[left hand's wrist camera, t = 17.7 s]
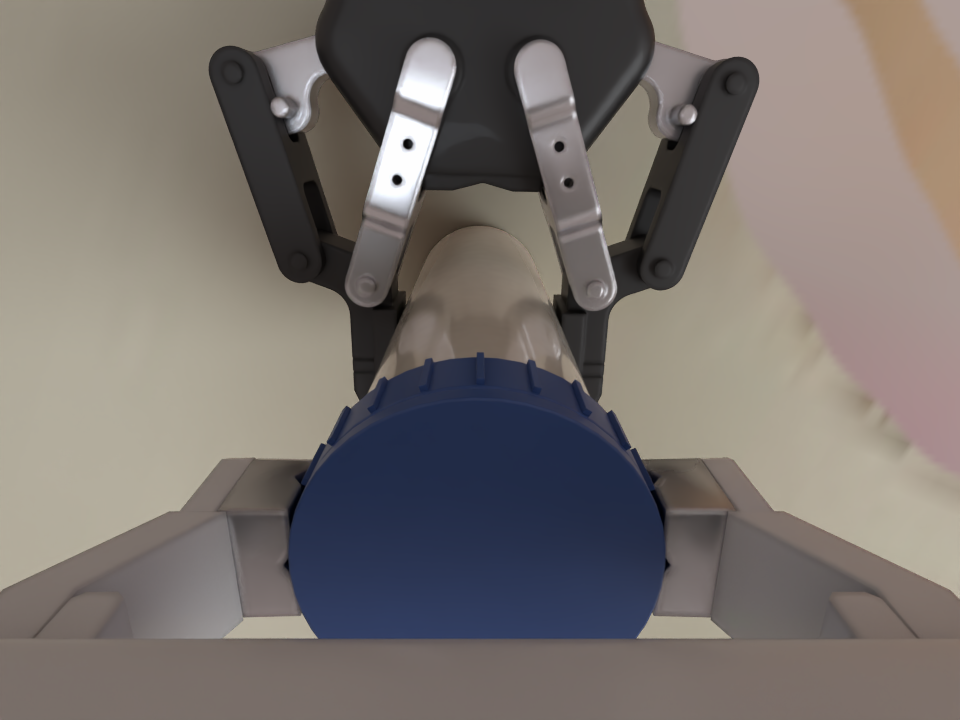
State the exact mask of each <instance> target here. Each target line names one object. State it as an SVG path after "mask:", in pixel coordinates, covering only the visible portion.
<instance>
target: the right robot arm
mask: <svg viewBox="0 0 960 720" xmlns="http://www.w3.org/2000/svg"><path fill="white" fill-rule="evenodd" d="M209 76H210V79H211V82H212V85H213V88H214V90H215V93H216V96H217V99H218V101H219V104H220V107H221V110H222V112H223V115H224V118H225V121H226V124H227V126H228V129H229V132H230V135H231V137H232V140H233V143H234V146H235V148H236V151H237V154H238V157H239V159H240V162H241V165H242V168H243V170H244V173H245V176H246V179H247V182H248V184H249V187H250V190H251V193H252V195H253V198H254V201H255V204H256V206H257V209H258V212H259V215H260V217H261V220H262V223H263V226H264V228H265V231H266V234H267V237H268V240H269V242H270V245H271V248H272V251H273V253H274V256H275V259H276V262H277V264H278V267H279V269H280V271H281V272H282V274H283V275H284V276H285V277H286V278H288V279H289V280H291V281H293V282H297V283H306V282H312V283H315V284H318V285H320V286H323V287H326V288H329V289H331V290H333V291H335V292H337V293H338V294H339V295H341V296H342V297H343V299H344V300H345V301H346V303H347V305H348V307H349V310H350V319H351V337H352V356H353V370H354V373H353V374H354V390H355V392H356V394H357V396H358V398H359V400H361V399H362V398H363V397H364V396H365V395H367V393H368V391H369V389H370V386H371V384H372V382H373V380H374V377H375V375H376V373H377V370H378V368H379V366H380V364H381V361H382V359H383V357H384V354H385V352H386V350H387V348H388V345H389V343H390V341H391V338H392V336H393V334H394V332H395V329H396V327H397V325H398V322H399V320H400V318H401V316H402V313H403V311H404V309H405V306H406V292H405V291H398V275H399V272H400V269H401V266H402V263H403V260H404V256H405V253H406V250H407V247H408V244H409V241H410V238H411V235H412V231H413V228H414V225H415V223H416V220H417V217H418V215H419V212H420V209H421V206H422V203H423V200H424V197H425V194H426V191H427V190H456V189H460V188H464V187H468V186H472V185H475V184H479V183H486V184H489V185H493V186H496V187H499V188H503V189H506V190H510V191H515V192H538V194H539V198H540V201H541V205H542V208H543V212H544V215H545V218H546V221H547V223H548V226H549V230H550V233H551V237H552V240H553V244H554V247H555V251H556V254H557V258H558V261H559V265H560V269H561V272H562V291H561V295H554V299H553V308H554V311H555V313H556V316H557V318H558V320H559V323H560V325H561V328H562V330H563V332H564V335H565V337H566V340H567V342H568V344H569V347H570V349H571V352H572V354H573V356H574V359H575V361H576V364H577V366H578V368H579V371H580V373H581V376H582V378H583V380H584V383H585V385H586V388H587V390H588V392H589V395H590V397H591V398H592V399H594V400H595V401H596V402H598V400H599V398H600V397H601V395H602V384H603V373H604V362H605V351H606V340H607V329H608V319H609V314H610V312H611V310H612V308H613V306H614V305H615V304H616V303H617V302H618V301H619V300H620V299H622V298H623V297H625V296H627V295H630V294H633V293H636V292H639V291H642V290H645V289H648V288H652V289H655V290H666V289H669V288H671V287H673V286H675V285H676V284H677V283H678V282H679V281H680V280H681V278H682V276H683V274H684V272H685V269H686V267H687V264H688V262H689V259H690V257H691V254H692V252H693V249H694V247H695V244H696V242H697V239H698V237H699V234H700V232H701V229H702V227H703V224H704V222H705V219H706V217H707V214H708V212H709V209H710V207H711V204H712V202H713V199H714V197H715V194H716V192H717V189H718V187H719V184H720V182H721V180H722V177H723V175H724V172H725V170H726V167H727V165H728V162H729V160H730V157H731V155H732V152H733V150H734V147H735V145H736V142H737V140H738V137H739V135H740V132H741V130H742V127H743V125H744V122H745V120H746V117H747V115H748V112H749V110H750V107H751V105H752V102H753V100H754V97H755V95H756V92H757V90H758V86H759V74H758V71H757V68H756V66H755V65H754V64H753V63H752V62H751V61H750V60H748V59H746V58H743V57H732V58H729V59H722V60H718V61H714V60H711V59H708V58H704V57H701V56H698V55H695V54H692V53H689V52H686V51H683V50H680V49H677V48H674V47H671V46H668V45H665V44H661V43H658V42H655V34H654V29H653V25H652V22H651V20H650V18H649V15H648V13H647V10H646V8H645V4H644V1H643V0H326V3H325V5H324V8H323V10H322V12H321V14H320V16H319V19H318V22H317V26H316V32H315V35H314V36H310V37H307V38H303V39H300V40H296V41H292V42H289V43H285V44H282V45H278V46H275V47H271V48H268V49H264V50H261V51H257V52H250V51H247V50H245V49H242V48H239V47H236V46H225V47H222V48H220V49H218V50H217V51H216V52H215V53H214V54H213V56H212V57H211V60H210V63H209ZM329 78H330V79H331V80H332V81H333V83H334V84H335V86H336V87H337V88H338V90H339V91H340V93H341V94H342V95H343V97H344V98H345V100H346V101H347V102H348V104H349V105H350V107H351V108H352V109H353V111H354V112H355V114H356V115H357V116H358V118H359V119H360V121H361V122H362V123H363V125H364V126H365V128H366V129H367V130H368V132H369V133H370V135H371V136H372V137H373V139H374V140H375V142H376V143H377V144H378V146H379V147H380V152H379V156H378V159H377V163H376V166H375V169H374V173H373V176H372V180H371V183H370V187H369V190H368V194H367V197H366V200H365V204H364V208H363V214H362V223H361V227H360V231H359V234H358V237H357V241H356V242H353V241H351V240H348V239H345V238H343V237H340V236H338V235H337V232H336V229H335V226H334V223H333V220H332V216H331V213H330V210H329V207H328V204H327V201H326V198H325V195H324V192H323V189H322V186H321V182H320V179H319V176H318V173H317V170H316V167H315V164H314V161H313V158H312V155H311V152H310V148H309V145H308V142H307V139H306V136H305V132H308V131H310V130H311V129H312V128H313V127H314V126H315V125H316V123H317V121H318V118H319V105H318V93H319V90H320V88H321V86H322V85H323V83H324V82H325V81H326V80H328V79H329ZM638 84H639V85H641V86H642V87H643V88H644V89H645V90H646V92H647V94H648V96H649V100H650V109H649V114H648V124H649V127H650V130H651V131H652V133H653V134H654V135H655V136H657V137H658V138H660V139H662V140H661V143H660V146H659V148H658V151H657V154H656V157H655V159H654V162H653V165H652V168H651V170H650V173H649V176H648V179H647V182H646V184H645V187H644V190H643V193H642V195H641V198H640V201H639V204H638V206H637V209H636V212H635V215H634V217H633V220H632V223H631V226H630V228H629V231H628V234H627V237H626V239H625V241H622V242H619V243H616V244H613V245H611V246H608V247H607V244H606V240H605V236H604V232H603V227H602V214H601V209H600V204H599V200H598V196H597V192H596V188H595V184H594V180H593V176H592V173H591V169H590V165H589V161H588V157H587V153H586V152H587V150H588V149H589V148H590V147H591V145H592V144H593V143H594V141H595V140H596V139H597V137H598V136H599V135H600V134H601V132H602V131H603V130H604V128H605V127H606V126H607V124H608V123H609V122H610V121H611V119H612V118H613V117H614V115H615V114H616V113H617V111H618V110H619V109H620V108H621V106H622V105H623V104H624V102H625V101H626V100H627V98H628V97H629V96H630V95H631V93H632V92H633V91H634V89H635V88H636V87H637V85H638Z"/></svg>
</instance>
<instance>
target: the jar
mask: <svg viewBox="0 0 960 720" xmlns="http://www.w3.org/2000/svg"><path fill="white" fill-rule="evenodd" d="M477 352H484V358H500V359H506V360H511V361H517V362H522V363H525V364H527V362H528V360H529V359H530V360H533V361H535V362H536V366H537V367H538V368H542V369H544V370H546V371H548V372H551V373H553V374H555V375H557V376H560V377H562V378H564V379H565V380H567V381H568V382H570V383H572V382H573V381H574V380H577V381H579V382H580V383H581V385H582V388H583V390H584V392H585V393H586V394H587V395H589V392H588V390H587V388H586V385H585V383H584V380H583V378H582V376H581V373H580V371H579V368H578V366H577V364H576V361H575V359H574V356H573V354H572V352H571V349H570V347H569V344H568V342H567V340H566V337H565V335H564V332H563V330H562V328H561V325H560V323H559V320H558V318H557V316H556V313H555V311H554V308H553V306H552V304H551V301H550V299H549V296H548V294H547V292H546V289H545V287H544V284H543V282H542V280H541V277H540V275H539V272H538V270H537V268H536V265H535V263H534V261H533V259H532V257H531V255H530V253H529V252H528V250H527V249H526V247H525V246H524V245H523V244H522V243H521V242H520V241H519V240H517V239H516V238H515V237H514V236H512V235H511V234H509V233H507V232H505V231H503V230H500V229H497V228H494V227H489V226H470V227H465V228H461V229H459V230H456V231H454V232H452V233H450V234H448V235H447V236H445V237H444V238H443V239H441V240H440V241H439V242H438V243H437V244H436V245H435V246H434V248H433V249H432V250H431V252H430V253H429V255H428V257H427V259H426V261H425V263H424V265H423V268H422V270H421V272H420V275H419V277H418V279H417V281H416V284H415V286H414V288H413V290H412V293H411V295H410V297H409V300H408V302H407V304H406V306H405V309H404V311H403V313H402V316H401V318H400V320H399V322H398V325H397V327H396V329H395V332H394V334H393V336H392V338H391V341H390V343H389V345H388V348H387V350H386V352H385V354H384V357H383V359H382V361H381V364H380V366H379V368H378V370H377V373H376V375H375V377H374V380H373V382H372V384H371V386H370V389H369V391H368V393H369V392H370V391H372V390H373V389H375V388H376V386H377V383H378V381H379V379H380V378H382V377H384V376H385V377H386V379H387V380H389V379H391V378H393V377H395V376H397V375H399V374H401V373H403V372H405V371H408V370H411V369H413V368H416V367H419V366H422V365H424V362H425V359H428V358H432V359H433V362H438V361H443V360H448V359H455V358H468V357H477ZM368 393H367V394H368ZM589 396H590V395H589Z"/></svg>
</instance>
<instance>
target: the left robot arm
mask: <svg viewBox="0 0 960 720" xmlns="http://www.w3.org/2000/svg"><path fill="white" fill-rule="evenodd" d="M312 460H313V459H261V458H258V459H256V458H228V459H222V460H221V461H220V462H219V463H218V464H217V466H216V467H215V468H214V469H213V471H212V472H211V473H210V474H209V476H208V477H207V478H206V479H205V481H204V482H203V483H202V484H201V485H200V487H199V488H198V489H197V490H196V492H195V493H194V494H193V495H192V497H191V498H190V499H189V500H188V502H187V503H186V504H185V505H184V507H183V508H182V509H181V510H180V511H174V512H168V513H165V514H163V515H161V516H159V517H157V518H155V519H153V520H150V521H148V522H146V523H144V524H142V525H140V526H138V527H135V528H133V529H131V530H129V531H127V532H125V533H123V534H121V535H118V536H116V537H114V538H112V539H110V540H108V541H106V542H103V543H101V544H99V545H97V546H95V547H93V548H91V549H88V550H86V551H84V552H82V553H80V554H78V555H76V556H73V557H71V558H69V559H67V560H65V561H63V562H61V563H59V564H56V565H54V566H52V567H50V568H48V569H46V570H44V571H41V572H39V573H37V574H35V575H33V576H31V577H29V578H26V579H24V580H22V581H20V582H18V583H16V584H14V585H12V586H9V587H7V588H5V589H3V590H2V591H1V592H0V720H960V599H959V598H958V597H957V596H956V595H955V594H954V593H952V592H951V591H950V590H949V589H947V588H944V587H942V586H940V585H938V584H936V583H934V582H932V581H930V580H928V579H925V578H923V577H921V576H919V575H917V574H915V573H913V572H911V571H909V570H906V569H904V568H902V567H900V566H898V565H896V564H894V563H892V562H890V561H888V560H885V559H883V558H881V557H879V556H877V555H875V554H873V553H871V552H869V551H866V550H864V549H862V548H860V547H858V546H856V545H854V544H852V543H850V542H847V541H845V540H843V539H841V538H839V537H837V536H835V535H833V534H831V533H828V532H826V531H824V530H822V529H820V528H818V527H816V526H814V525H812V524H809V523H807V522H805V521H803V520H801V519H799V518H797V517H795V516H793V515H790V514H788V513H786V512H780V511H773V509H772V508H771V507H770V506H769V504H768V503H767V502H766V501H765V499H764V498H763V497H762V495H761V494H760V493H759V492H758V490H757V489H756V488H755V487H754V485H753V484H752V483H751V482H750V480H749V479H748V478H747V477H746V475H745V474H744V473H743V472H742V470H741V469H740V468H739V466H738V465H737V464H736V463H735V461H734V460H732V459H730V458H708V459H700V458H692V459H650V460H642V462H643V464H644V466H645V468H646V470H647V472H648V474H649V476H650V478H651V480H652V482H653V484H654V487H655V490H652V491H650V492H651V494H652V496H653V498H654V500H655V503H656V505H657V508H658V511H659V514H660V518H661V521H662V524H663V530H664V537H665V545H666V554H665V571H664V576H663V582H662V587H661V590H660V593H659V596H658V599H657V602H656V605H655V608H654V610H653V611H652V612H653V615H654V616H681V617H711V620H712V621H713V622H714V623H715V624H716V625H717V626H718V627H720V628H721V629H722V630H723V631H724V632H725V633H726V634H728V635H729V636H730V637H731V638H732V639H222V638H223V637H224V636H226V635H227V634H228V633H229V632H230V631H231V630H233V629H234V628H235V627H236V626H237V625H238V624H239V623H241V622H242V621H243V617H272V616H301V613H302V612H301V609H300V607H299V604H298V602H297V599H296V597H295V594H294V590H293V586H292V582H291V577H290V573H289V559H288V546H289V535H290V528H291V524H292V520H293V516H294V513H295V509H296V507H297V505H298V502H299V500H300V498H301V495H302V493H303V491H304V489H305V487H306V486H305V485H302V484H301V482H302V480H303V477H304V475H305V474H306V472H307V470H308V468H309V466H310V464H311V462H312Z"/></svg>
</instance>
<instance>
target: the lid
mask: <svg viewBox="0 0 960 720" xmlns="http://www.w3.org/2000/svg"><path fill="white" fill-rule="evenodd" d="M630 448H631V446H630V443H629V441H628V439H627V437H626V435H625V433H624V431H623V429H622V427H621V425H620V423H619V421H618V419H617V417H616V415H615V413H614V412H613V411H612V410H611V411H610V412H608V413H607V412H606V411H605V410H604V409H603V408H602V407H601V406H600V405H599V404H598V403H597V402H596V401H595V400H594V399H592V398H591V397H590V396H589V395H587V394H586V393H585V392H584V390H583V388H582V385H581V383H580V382H579V381H577V380H574V381H573V382H572V383H570V382H568V381H567V380H565V379H564V378H562V377H560V376H557V375H555V374H553V373H551V372H548V371H546V370H544V369H542V368H538V367H537V366H536V362H535V361H533V360H530V359H529V360H528V362H527V364H525V363H522V362H517V361H511V360H506V359H500V358H484V352H477V357H468V358H455V359H448V360H443V361H438V362H433V359H432V358H428V359H425V362H424V365H422V366H419V367H416V368H413V369H411V370H408V371H405V372H403V373H401V374H399V375H397V376H395V377H393V378H391V379H389V380H387V379H386V377H385V376H384V377H382V378H380V379H379V381H378V383H377V386H376V388H375V389H373V390H372V391H370V392H369V393H368V394H367V395H365V396H364V397H363V398H362V399H361V400H360V401H359V402H358V403H356V404H355V405H354V406H353V407H352V408H351V409H350V408H349V407H348V406H346V407H345V408H344V409H343V410H342V412H341V414H340V416H339V418H338V420H337V422H336V424H335V426H334V428H333V430H332V432H331V434H330V436H329V438H328V440H327V444H326V445H325V444H322V443H321V444H320V446H319V448H318V450H317V452H316V454H315V456H314V458H313V460H312V462H311V464H310V466H309V468H308V470H307V472H306V474H305V475H304V477H303V480H302V482H301V484H302V485H305V486H306V487H305V489H304V491H303V493H302V495H301V498H300V500H299V502H298V505H297V507H296V509H295V513H294V516H293V520H292V524H291V528H290V535H289V546H288V559H289V573H290V577H291V582H292V586H293V590H294V594H295V597H296V599H297V602H298V604H299V607H300V609H301V612H302V614H303V615H304V617H305V619H306V621H307V622H308V624H309V626H310V628H311V629H312V631H313V632H314V634H315V635H316V636H317V637H318V639H636V638H637V636H638V635H639V634H640V632H641V631H642V629H643V628H644V626H645V625H646V623H647V621H648V619H649V617H650V615H651V613H652V611H653V610H654V608H655V605H656V602H657V599H658V596H659V593H660V590H661V587H662V582H663V576H664V571H665V554H666V545H665V537H664V530H663V524H662V521H661V518H660V514H659V511H658V508H657V505H656V503H655V500H654V498H653V496H652V494H651V492H650V491H652V490H655V487H654V484H653V482H652V480H651V478H650V476H649V474H648V472H647V470H646V468H645V466H644V464H643V462H642V460H641V458H640V456H639V454H638V452H637V450H636V448H634V449H631V450H630Z"/></svg>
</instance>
